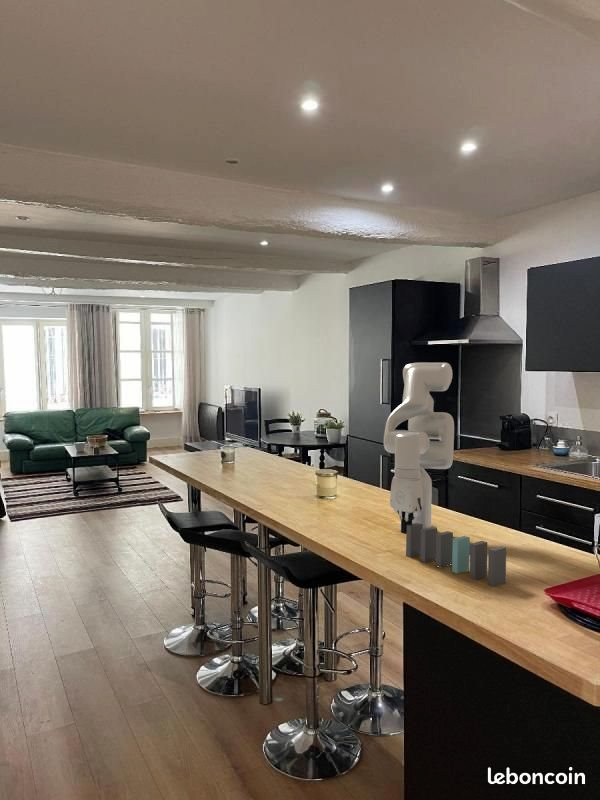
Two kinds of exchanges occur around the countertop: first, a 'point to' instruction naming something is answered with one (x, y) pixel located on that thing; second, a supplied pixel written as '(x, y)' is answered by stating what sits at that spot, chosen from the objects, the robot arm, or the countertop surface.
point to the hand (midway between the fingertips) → (406, 532)
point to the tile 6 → (497, 566)
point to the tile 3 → (444, 548)
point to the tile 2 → (428, 544)
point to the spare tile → (460, 554)
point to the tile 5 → (478, 560)
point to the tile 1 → (413, 539)
